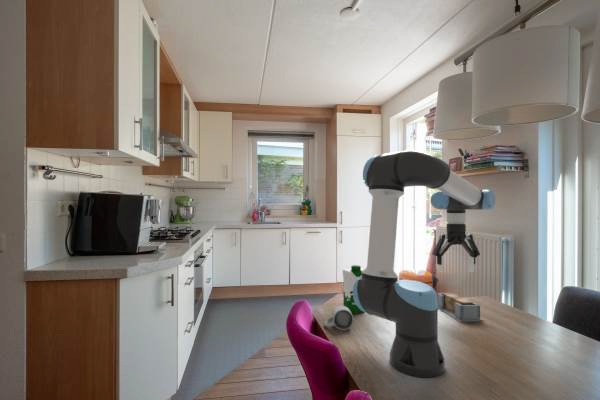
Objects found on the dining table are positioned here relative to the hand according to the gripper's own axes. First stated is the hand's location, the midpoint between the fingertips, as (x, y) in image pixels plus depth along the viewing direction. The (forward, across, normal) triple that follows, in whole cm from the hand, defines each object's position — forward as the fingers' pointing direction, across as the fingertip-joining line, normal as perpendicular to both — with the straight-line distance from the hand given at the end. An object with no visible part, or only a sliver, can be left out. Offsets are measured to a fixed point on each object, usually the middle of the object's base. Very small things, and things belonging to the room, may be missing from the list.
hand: (456, 272), depth 137 cm
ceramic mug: (+18, +54, +10) cm, 58 cm away
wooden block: (+17, 0, 0) cm, 17 cm away
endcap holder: (+18, 0, 0) cm, 18 cm away
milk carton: (+18, +43, -8) cm, 47 cm away
